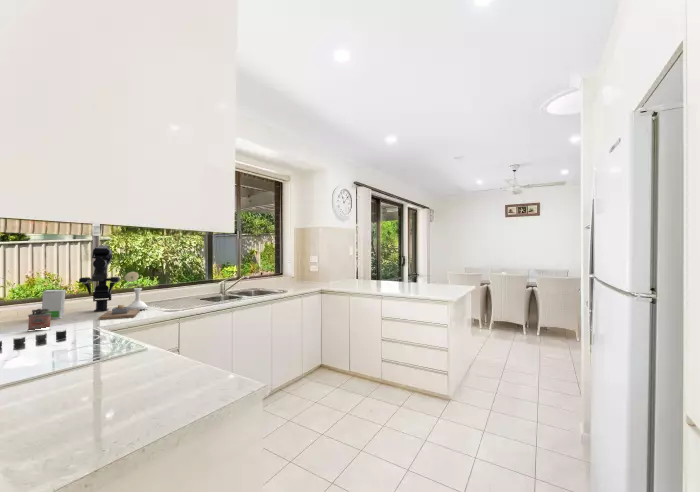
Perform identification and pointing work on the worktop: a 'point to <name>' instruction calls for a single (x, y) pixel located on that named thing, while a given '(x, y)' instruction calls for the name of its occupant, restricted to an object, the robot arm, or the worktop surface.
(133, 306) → the flower in vase
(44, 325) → the lighter
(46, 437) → the worktop surface
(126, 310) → the steel link
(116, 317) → the keeper board
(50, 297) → the skincare box
